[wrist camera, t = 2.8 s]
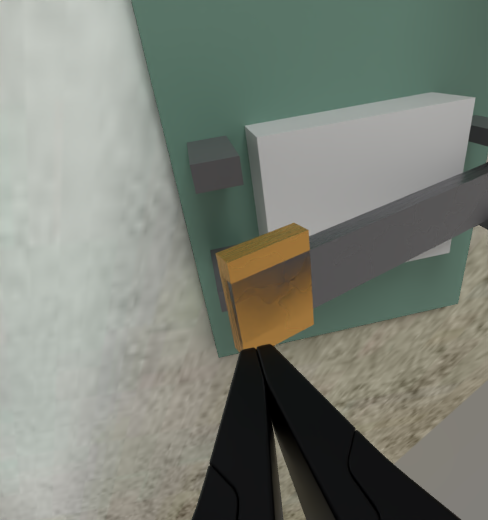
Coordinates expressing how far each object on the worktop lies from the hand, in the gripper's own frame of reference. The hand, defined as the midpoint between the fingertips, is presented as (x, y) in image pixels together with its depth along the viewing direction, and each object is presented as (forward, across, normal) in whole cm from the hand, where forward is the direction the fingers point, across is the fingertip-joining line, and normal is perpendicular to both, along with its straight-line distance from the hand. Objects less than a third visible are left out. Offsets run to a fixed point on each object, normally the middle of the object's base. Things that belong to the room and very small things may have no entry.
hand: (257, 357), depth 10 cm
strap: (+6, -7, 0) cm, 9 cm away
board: (+13, -7, 0) cm, 15 cm away
